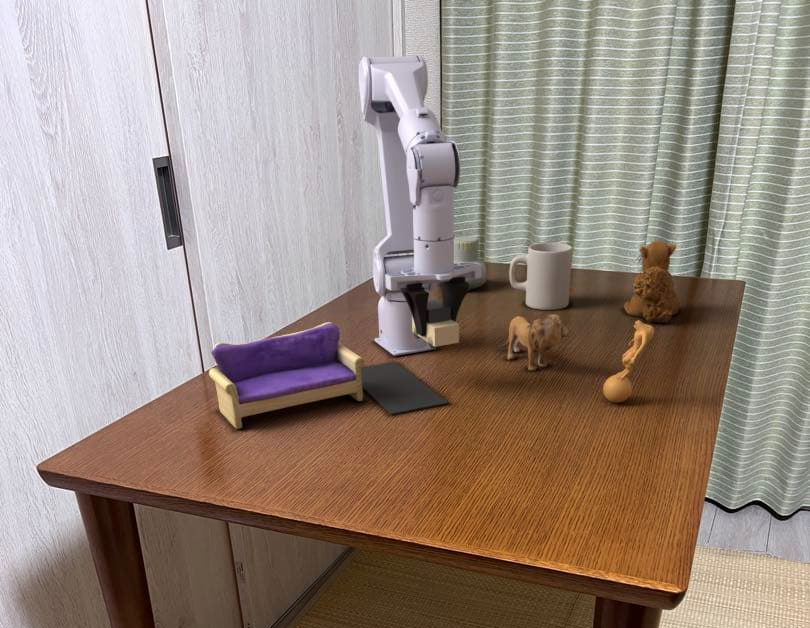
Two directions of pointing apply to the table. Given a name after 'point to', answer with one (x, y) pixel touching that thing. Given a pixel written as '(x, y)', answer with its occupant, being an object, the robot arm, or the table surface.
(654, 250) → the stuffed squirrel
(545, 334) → the lion figurine
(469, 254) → the air freshener
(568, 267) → the mug
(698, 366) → the table surface
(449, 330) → the toy car
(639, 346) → the figurine
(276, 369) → the toy sofa
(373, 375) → the mat
